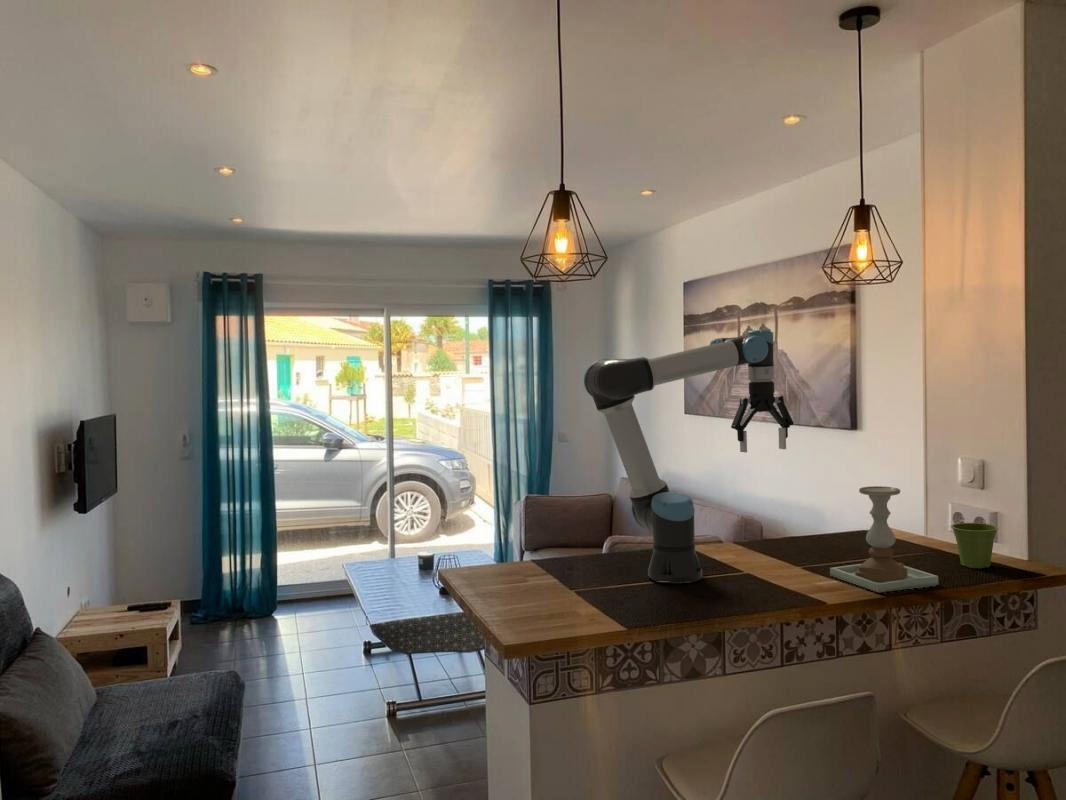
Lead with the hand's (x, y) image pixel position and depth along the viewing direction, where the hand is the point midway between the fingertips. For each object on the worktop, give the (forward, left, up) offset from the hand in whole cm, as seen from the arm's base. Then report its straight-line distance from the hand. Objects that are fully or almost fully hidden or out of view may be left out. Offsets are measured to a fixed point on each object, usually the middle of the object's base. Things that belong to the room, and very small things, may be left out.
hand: (763, 450), depth 253 cm
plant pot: (+45, -35, -33) cm, 66 cm away
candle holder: (+12, -37, -32) cm, 50 cm away
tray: (+12, -37, -33) cm, 51 cm away
